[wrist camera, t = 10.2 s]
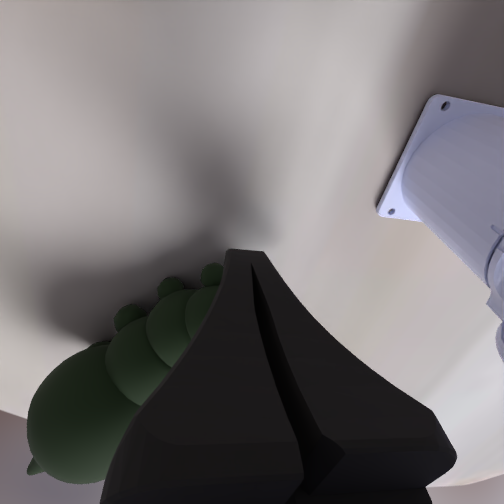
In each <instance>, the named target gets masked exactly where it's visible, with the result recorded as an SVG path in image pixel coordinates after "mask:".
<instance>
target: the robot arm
mask: <svg viewBox="0 0 504 504" xmlns="http://www.w3.org/2000/svg"><path fill="white" fill-rule="evenodd" d="M444 102H446V106H445V107H444V108H443V109H442V110H441V106H442V104H443V103H444ZM392 208H393V210H392V211H390V212H388V211H389V210H390V209H392ZM376 211H377V213H378V214H379V215H380V216H382V217H389V218H397V219H405V220H412V221H420V222H423V223H424V224H425V225H426V226H427V227H428V228H429V229H430V230H431V231H432V232H433V233H434V234H435V235H436V236H437V237H438V238H439V239H440V240H441V241H442V242H443V243H444V244H445V245H447V246H448V247H449V248H450V249H451V250H452V251H453V252H454V253H455V254H456V255H457V256H458V257H459V258H460V259H461V260H462V261H463V262H464V263H465V264H466V265H467V266H468V267H469V268H470V269H471V270H472V271H473V272H474V273H475V274H476V275H477V276H478V277H479V278H480V279H481V280H482V281H483V282H484V283H485V284H486V285H487V286H488V287H489V288H490V289H491V295H490V298H489V299H488V301H487V303H486V304H487V305H488V306H489V307H490V308H491V310H492V311H493V312H494V313H495V314H496V315H497V316H498V317H499V318H500V319H501V320H502V321H503V322H502V323H501V324H500V326H499V327H498V329H497V332H496V337H495V338H496V346H497V349H498V352H499V355H500V357H501V358H502V360H503V362H504V108H503V107H498V106H493V105H488V104H484V103H479V102H474V101H469V100H465V99H460V98H455V97H450V96H446V95H441V94H436V95H433V96H432V97H431V98H429V100H428V101H427V103H426V106H425V108H424V110H423V112H422V114H421V116H420V118H419V120H418V122H417V124H416V127H415V129H414V131H413V133H412V135H411V137H410V139H409V141H408V143H407V145H406V148H405V150H404V152H403V154H402V156H401V158H400V160H399V162H398V164H397V166H396V169H395V171H394V173H393V175H392V177H391V179H390V181H389V183H388V185H387V187H386V190H385V192H384V194H383V196H382V198H381V200H380V202H379V204H378V206H377V209H376ZM456 459H457V454H456V451H455V449H454V448H453V446H452V444H451V442H450V441H449V439H448V437H447V435H446V434H445V432H444V430H443V428H442V426H441V425H440V423H439V421H438V419H437V418H436V416H435V415H434V413H433V411H432V410H430V409H429V408H427V407H426V406H424V405H423V404H421V403H420V402H418V401H417V400H415V399H414V398H412V397H411V396H409V395H407V394H406V393H404V392H403V391H401V390H400V389H398V388H397V387H395V386H394V385H392V384H391V383H390V382H388V381H387V380H386V379H384V378H383V377H382V376H380V375H379V374H377V373H376V372H375V371H373V370H372V369H371V368H369V367H368V366H367V365H366V364H364V363H363V362H362V361H361V360H359V359H358V358H357V357H356V356H355V355H353V354H352V353H351V352H350V351H349V350H348V349H346V348H345V347H344V346H343V345H342V344H341V343H339V342H338V341H337V340H336V339H335V338H334V337H333V336H332V335H331V334H330V333H329V332H328V331H327V330H326V329H325V328H324V327H323V326H322V325H321V324H320V323H319V322H318V321H317V320H316V319H315V318H314V317H313V316H312V315H311V314H310V313H309V312H308V310H307V309H306V308H305V307H304V306H303V305H302V303H301V302H300V301H299V300H298V299H297V297H296V296H295V295H294V293H293V292H292V291H291V290H290V288H289V287H288V286H287V284H286V283H285V282H284V280H283V279H282V277H281V276H280V275H279V273H278V272H277V270H276V269H275V267H274V266H273V264H272V263H271V261H270V260H269V258H268V257H267V255H266V254H265V253H264V252H263V251H252V250H240V249H228V250H227V251H226V255H225V262H224V268H223V274H222V279H221V282H220V285H219V288H218V290H217V292H216V295H215V297H214V299H213V301H212V304H211V306H210V308H209V310H208V312H207V314H206V316H205V317H204V319H203V321H202V323H201V325H200V326H199V328H198V330H197V331H196V333H195V335H194V336H193V338H192V339H191V341H190V343H189V344H188V346H187V347H186V349H185V350H184V352H183V353H182V355H181V356H180V357H179V359H178V360H177V361H176V363H175V364H174V366H173V367H172V368H171V370H170V371H169V372H168V374H167V375H166V376H165V378H164V379H163V380H162V382H161V383H160V384H159V385H158V386H157V388H156V389H155V390H154V391H153V392H152V394H151V395H150V396H149V397H148V398H147V400H146V401H145V402H144V403H143V404H142V405H141V407H140V408H139V409H138V410H137V411H136V413H135V414H134V417H133V418H132V420H131V422H130V424H129V426H128V428H127V430H126V431H125V433H124V435H123V437H122V439H121V441H120V443H119V445H118V447H117V449H116V452H115V454H114V456H113V458H112V461H111V463H110V466H109V469H108V472H107V475H106V478H105V482H104V487H103V491H102V495H101V500H100V504H432V501H431V498H430V496H429V494H428V492H427V490H426V486H427V485H429V484H430V483H432V482H433V481H435V480H436V479H437V478H439V477H440V476H442V475H443V474H445V473H446V472H447V471H449V470H450V469H451V468H452V467H453V466H454V464H455V462H456Z"/></svg>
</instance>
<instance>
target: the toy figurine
mask: <svg viewBox="0 0 504 504" xmlns="http://www.w3.org/2000/svg"><path fill="white" fill-rule="evenodd" d="M223 268H224V267H223V266H222V265H220V264H219V263H212V264H208V265H206V266H205V268H204V269H203V270H202V273H201V280H200V281H201V282H202V284H203V285H204V286H205V287H203V288H201V289H199V290H196V289H187V290H184V286H183V284H182V283H181V281H180V280H179V279H177V278H166V279H165V280H163V281H162V282H161V284H160V285H159V286H158V288H157V291H158V297H159V299H160V301H159V302H158V303H157V305H156V306H155V307H154V308H153V310H152V311H151V312H150V314H149V316H147V314H146V312H145V311H144V310H143V309H142V308H140V307H139V306H137V305H134V304H130V305H127V306H125V307H122V308H121V309H120V310H119V312H118V313H117V314H116V316H115V317H114V323H115V328H116V330H117V332H118V333H117V334H116V335H115V336H114V338H113V339H112V341H111V342H106V341H102V342H97V343H94V344H92V345H91V346H89V347H88V348H87V349H85V350H83V351H80V352H78V353H76V354H75V355H73V356H71V357H69V358H68V359H66V360H65V361H63V362H62V363H61V364H60V365H59V366H57V367H56V368H55V369H54V370H53V371H52V372H51V373H50V374H49V375H48V376H47V377H46V378H45V380H44V381H43V382H42V384H41V385H40V386H39V388H38V390H37V391H36V393H35V394H34V396H33V398H32V401H31V404H30V408H29V411H28V419H27V439H28V443H29V447H30V451H31V453H32V455H33V458H32V460H31V462H30V464H29V466H28V468H27V474H28V475H35V474H38V473H41V472H44V471H45V472H46V473H47V474H49V475H50V476H52V477H54V478H56V479H58V480H60V481H63V482H66V483H72V484H89V483H95V482H99V481H101V480H105V478H106V475H107V472H108V469H109V466H110V463H111V461H112V458H113V456H114V454H115V452H116V449H117V447H118V445H119V443H120V441H121V439H122V437H123V435H124V433H125V431H126V430H127V428H128V426H129V424H130V422H131V420H132V418H133V417H134V414H135V413H136V411H137V410H138V409H139V408H140V407H141V405H142V404H143V403H144V402H145V401H146V400H147V398H148V397H149V396H150V395H151V394H152V392H153V391H154V390H155V389H156V388H157V386H158V385H159V384H160V383H161V382H162V380H163V379H164V378H165V376H166V375H167V374H168V372H169V371H170V370H171V368H172V367H173V366H174V364H175V363H176V361H177V360H178V359H179V357H180V356H181V355H182V353H183V352H184V350H185V349H186V347H187V346H188V344H189V343H190V341H191V339H192V338H193V336H194V335H195V333H196V331H197V330H198V328H199V326H200V325H201V323H202V321H203V319H204V317H205V316H206V314H207V312H208V310H209V308H210V306H211V304H212V301H213V299H214V297H215V295H216V292H217V290H218V288H219V285H220V282H221V279H222V274H223Z"/></svg>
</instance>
